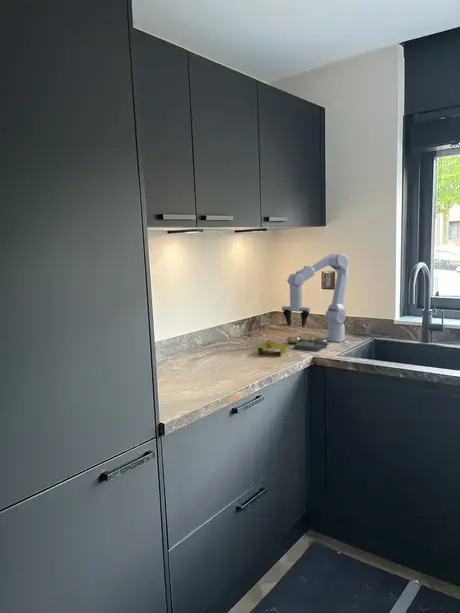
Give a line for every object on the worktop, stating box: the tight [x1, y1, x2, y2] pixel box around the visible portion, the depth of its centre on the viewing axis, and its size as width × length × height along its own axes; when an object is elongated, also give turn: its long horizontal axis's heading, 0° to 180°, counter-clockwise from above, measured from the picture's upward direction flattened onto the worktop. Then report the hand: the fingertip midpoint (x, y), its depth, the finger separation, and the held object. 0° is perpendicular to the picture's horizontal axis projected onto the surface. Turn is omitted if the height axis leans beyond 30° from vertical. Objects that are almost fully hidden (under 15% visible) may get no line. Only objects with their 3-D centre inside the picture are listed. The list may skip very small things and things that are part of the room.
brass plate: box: [286, 334, 320, 345], centre depth 231 cm, size 13×12×3 cm
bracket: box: [257, 340, 286, 357], centre depth 212 cm, size 16×8×15 cm
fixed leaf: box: [294, 338, 330, 352], centre depth 219 cm, size 13×12×3 cm
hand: (296, 325), depth 226 cm, fingers open, 7 cm apart
